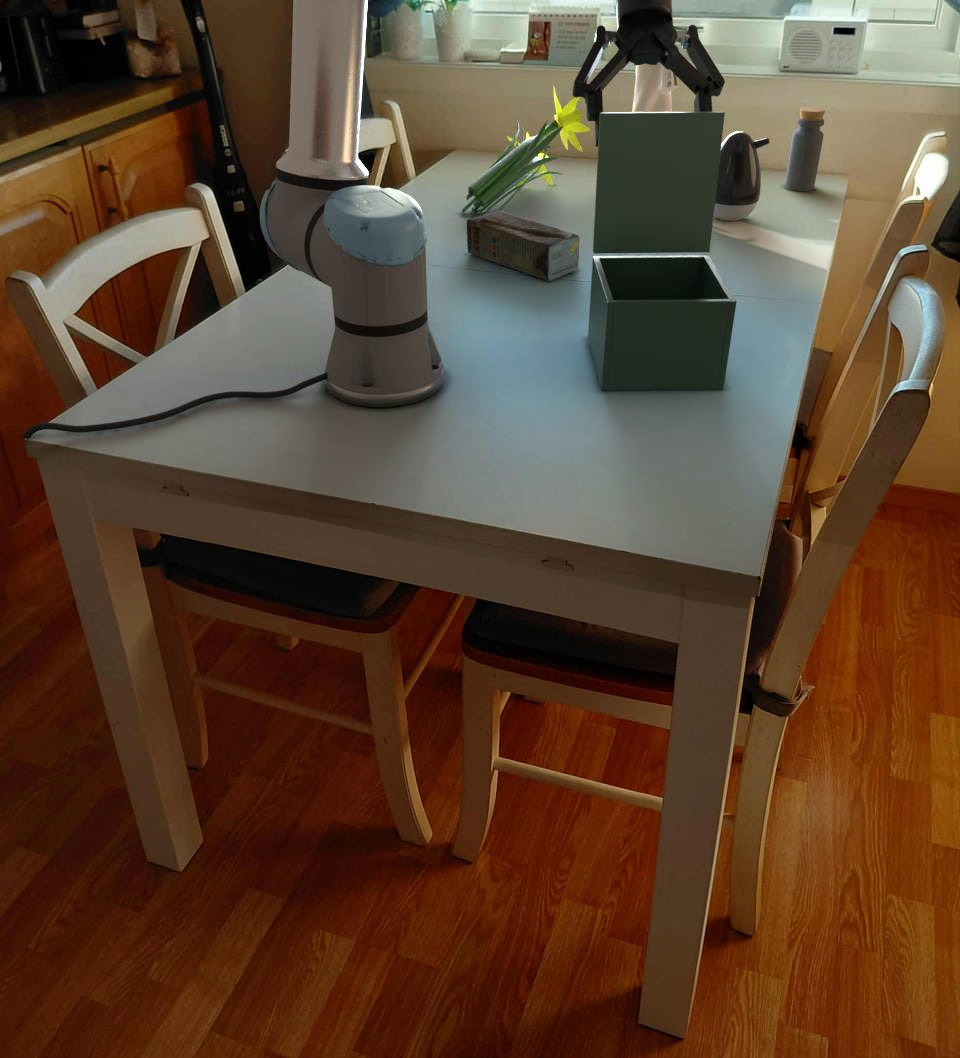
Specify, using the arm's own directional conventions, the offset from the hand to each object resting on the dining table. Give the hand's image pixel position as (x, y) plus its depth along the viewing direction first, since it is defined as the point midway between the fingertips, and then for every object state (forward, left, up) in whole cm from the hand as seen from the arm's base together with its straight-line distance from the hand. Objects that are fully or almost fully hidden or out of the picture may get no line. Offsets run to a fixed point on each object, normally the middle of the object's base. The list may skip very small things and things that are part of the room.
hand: (650, 140), depth 131 cm
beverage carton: (-1, +28, -25) cm, 38 cm away
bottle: (+72, +35, -25) cm, 84 cm away
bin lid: (-4, -6, -4) cm, 8 cm away
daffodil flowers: (+20, +59, -25) cm, 67 cm away
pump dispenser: (+46, +28, -25) cm, 59 cm away
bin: (-8, -14, -25) cm, 30 cm away
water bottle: (+48, +55, -25) cm, 77 cm away
